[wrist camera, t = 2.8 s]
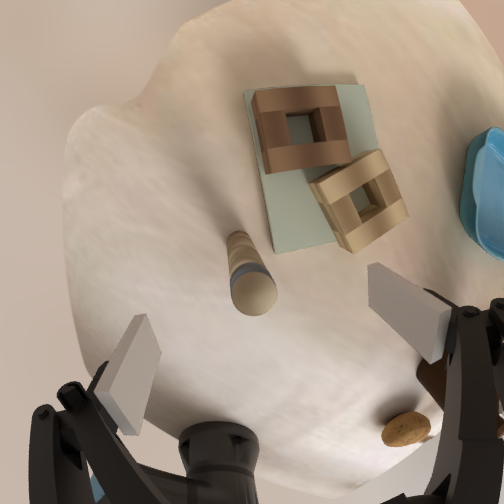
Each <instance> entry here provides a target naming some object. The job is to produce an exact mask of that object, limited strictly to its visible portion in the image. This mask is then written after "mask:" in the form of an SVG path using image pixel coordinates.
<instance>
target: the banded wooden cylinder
mask: <svg viewBox="0 0 504 504" xmlns="http://www.w3.org/2000/svg"><path fill="white" fill-rule="evenodd" d="M227 253H228V264H229V273H230V290H231V298H232V301H233V303H234V306H235V307H236V308H237V309H238V310H239V311H240V312H241V313H243V314H245V315H249V316H258V315H262V314H264V313H266V312H268V311H269V310H270V309H271V308H272V307H273V306H274V304H275V302H276V300H277V288H276V284H275V282H274V280H273V278H272V276H271V275H270V273H269V271H268V270H267V269H266V267H265V265H264V263H263V261H262V259H261V257H260V255H259V254H258V252H257V250H256V248H255V246H254V244H253V242H252V240H251V239H250V237H249V235H248V234H246V233H245V232H242V231H236V232H233V233H232V234H231V235H230V236H229V237H228V239H227Z"/></svg>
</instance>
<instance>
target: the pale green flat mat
mask: <svg viewBox="0 0 504 504" xmlns="http://www.w3.org/2000/svg"><path fill="white" fill-rule="evenodd" d="M322 85H335V86H336V90H337V94H338V98H339V102H340V106H341V110H342V115H343V119H344V124H345V129H346V133H347V138H348V144H349V149H350V154H351V158H353V157H355V156H357V155H358V154H360V153H362V152H364V151H368V150H374V149H378V143H377V138H376V133H375V128H374V123H373V119H372V114H371V110H370V106H369V102H368V98H367V94H366V90H365V86H364V85H357V84H316V85H295V86H282V87H271V88H262V89H254V90H246V91H244V99H245V104H246V109H247V113H248V118H249V123H250V128H251V133H252V138H253V143H254V148H255V153H256V158H257V163H258V168H259V173H260V179H261V184H262V189H263V194H264V200H265V205H266V211H267V216H268V222H269V227H270V233H271V238H272V244H273V250H274V253H275V254H281V253H286V252H290V251H295V250H299V249H304V248H308V247H313V246H318V245H322V244H327V243H331V242H336V241H337V240H336V238H335V236H334V234H333V231H332V229H331V227H330V225H329V223H328V221H327V219H326V218H325V216H324V214H323V212H322V210H321V208H320V206H319V204H318V202H317V200H316V198H315V196H314V195H313V193H312V191H311V189H310V187H309V185H308V183H309V182H311V181H312V180H314V179H316V178H318V177H319V176H321V175H323V174H325V173H326V172H328V171H330V170H332V169H333V168H335V167H337V166H339V165H340V164H333V165H326V166H318V167H311V168H304V169H297V170H291V171H285V172H279V173H273V174H267V175H266V174H265V169H264V163H263V158H262V153H261V148H260V143H259V138H258V133H257V128H256V123H255V119H254V114H253V109H252V104H251V100H252V97H253V95H254V92H255V91H256V90H264V89H274V88H285V87H299V86H322ZM286 120H287V125H288V130H289V134H290V139H291V144H292V145H299V144H307V143H314V141H313V136H312V131H311V127H310V122H309V117H308V115H303V116H293V117H286ZM341 164H342V163H341ZM349 195H350V197H351V200H352V202H353V204H354V206H355V208H356V210H357V212H360V211H361V210H363V209H364V208H366V207H367V206H369V205H371V204H370V202H369V199H368V197H367V195H366V193H365V191H364V188H363V186H360V187H358V188H357V189H355V190H353V191H352V192H350V193H349Z"/></svg>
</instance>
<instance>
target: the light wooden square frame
mask: <svg viewBox="0 0 504 504" xmlns="http://www.w3.org/2000/svg"><path fill="white" fill-rule="evenodd" d="M351 160H352V162H350V163H342V164H340V165H339V166H337V167H335V168H333V169H332V170H330V171H328V172H326V173H325V174H323V175H321V176H319V177H318V178H316V179H314V180H312V181H311V182H309V183H308V185H309V187H310V189H311V191H312V193H313V195H314V196H315V198H316V200H317V202H318V204H319V206H320V208H321V210H322V212H323V214H324V216H325V218H326V219H327V221H328V223H329V225H330V227H331V229H332V231H333V234H334V236H335V238H336V240H337V242H338V244H339V246H340V247H342V248H343V249H345V250H347V251H349V252H350V253H352V254H355V253H357V252H358V251H360V250H361V249H363V248H364V247H366V246H367V245H368V244H370V243H371V242H373V241H374V240H376V239H377V238H379V237H380V236H382V235H383V234H384V233H386V232H387V231H389V230H390V229H391V228H393V227H394V226H396V225H397V224H398V223H400V222H401V221H403V220H404V219H405V218H407V217H408V213H407V210H406V207H405V205H404V202H403V199H402V197H401V194H400V192H399V189H398V187H397V184H396V182H395V179H394V177H393V175H392V172H391V170H390V168H389V165H388V163H387V161H386V159H385V157H384V154H383V152H382V150H381V149H374V150H368V151H364V152H362V153H360V154H358V155H357V156H355V157H353V158H351ZM360 186H363V188H364V191H365V193H366V195H367V197H368V199H369V202H370V204H371V205H369V206H367V207H366V208H364V209H363V210H361V211H360V212H357V210H356V208H355V206H354V204H353V202H352V200H351V197H350V195H349V193H350V192H352V191H353V190H355V189H357V188H358V187H360Z"/></svg>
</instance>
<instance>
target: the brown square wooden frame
mask: <svg viewBox="0 0 504 504" xmlns="http://www.w3.org/2000/svg"><path fill="white" fill-rule="evenodd" d="M251 104H252V109H253V114H254V119H255V123H256V128H257V133H258V138H259V143H260V148H261V153H262V158H263V163H264V169H265V174H266V175H267V174H273V173H279V172H285V171H291V170H297V169H304V168H311V167H318V166H326V165H333V164H341V163H350V162H352V160H351V154H350V149H349V144H348V138H347V133H346V129H345V124H344V119H343V115H342V110H341V106H340V102H339V98H338V94H337V90H336V86H335V85H322V86H299V87H285V88H274V89H264V90H256V91H255V92H254V95H253V97H252V100H251ZM303 115H308V117H309V122H310V127H311V131H312V136H313V141H314V143H307V144H299V145H292V144H291V139H290V134H289V130H288V125H287V120H286V117H293V116H303Z"/></svg>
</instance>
